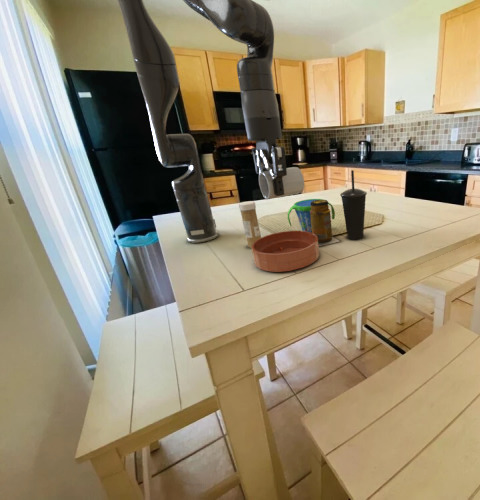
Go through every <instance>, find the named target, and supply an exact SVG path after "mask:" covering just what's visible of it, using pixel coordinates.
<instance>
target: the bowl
mask: <svg viewBox="0 0 480 500" xmlns="http://www.w3.org/2000/svg"><path fill="white" fill-rule="evenodd" d="M281 247H282V248H283V249H282V250H280V248H281ZM250 249H251V252H252V258H253V262H254V265H255V267H257V268H258V269H259V270H263V271H266V272H275V273H280V272H281V273H282V272H292V271H295V270H299V269H302V268H305V267H307V266H310V265H311V264H313V263H314V262H315V261H317V260H318V259H319V257H320V246H319V245H318V237H317V236H316V235H315V234H314V233H311V232H307V231H302V230H286V231H285V230H284V231H279V232H278V231H277V232H273V233H269V234H267V235H264V236H261V238H259V239H258V240H256V241H255V242H253V244H252V246H251V248H250Z"/></svg>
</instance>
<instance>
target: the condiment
mask: <svg viewBox="0 0 480 500" xmlns="http://www.w3.org/2000/svg"><path fill="white" fill-rule="evenodd" d="M328 202H329V200H327V199H323V200H314V201H312V202H311V211H310V217H311V227H312V233H314V234H315V235H316V236H317V237H318V245H319V247H322V246H327V245H332V244H335V243H339V242H340V240H339V239H338V238H336V237H334V236H332V235H333V230H332V227H333V226H332V220H331V219H332V214H331V210H330V205H329V204H328Z"/></svg>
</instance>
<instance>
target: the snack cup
mask: <svg viewBox="0 0 480 500" xmlns="http://www.w3.org/2000/svg"><path fill="white" fill-rule="evenodd" d="M314 200H324V199H322V198H307V199H303V200H299V201H296V202H294V203H293V205H292V206H291V207H290V208H289V209H288V211H287V222H288V224H289V226H290V227H292V223H291V219H290V214H291V213H292V211H295V214H296V216H297V218H298V223H299V225H300V229H301V230H300V231H307V232H311V233H312V227H311V217H310V211H311V202H312V201H314ZM328 206H329V207H330V208H331V210H330V211H331V219H332V220H335V218H336V212H335V208H334V206H333V204H331V203H330V202H329V201H328Z"/></svg>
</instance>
